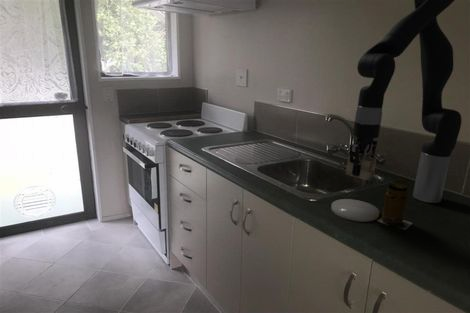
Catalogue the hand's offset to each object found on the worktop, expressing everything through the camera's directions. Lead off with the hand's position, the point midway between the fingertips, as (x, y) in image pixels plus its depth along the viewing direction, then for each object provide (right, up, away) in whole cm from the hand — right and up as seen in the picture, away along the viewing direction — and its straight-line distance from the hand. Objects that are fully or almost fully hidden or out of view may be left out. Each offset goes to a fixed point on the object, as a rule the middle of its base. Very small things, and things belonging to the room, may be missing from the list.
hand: (359, 173), depth 110 cm
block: (0, -1, 0) cm, 1 cm away
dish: (0, -13, +4) cm, 13 cm away
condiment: (+10, -15, -3) cm, 18 cm away
